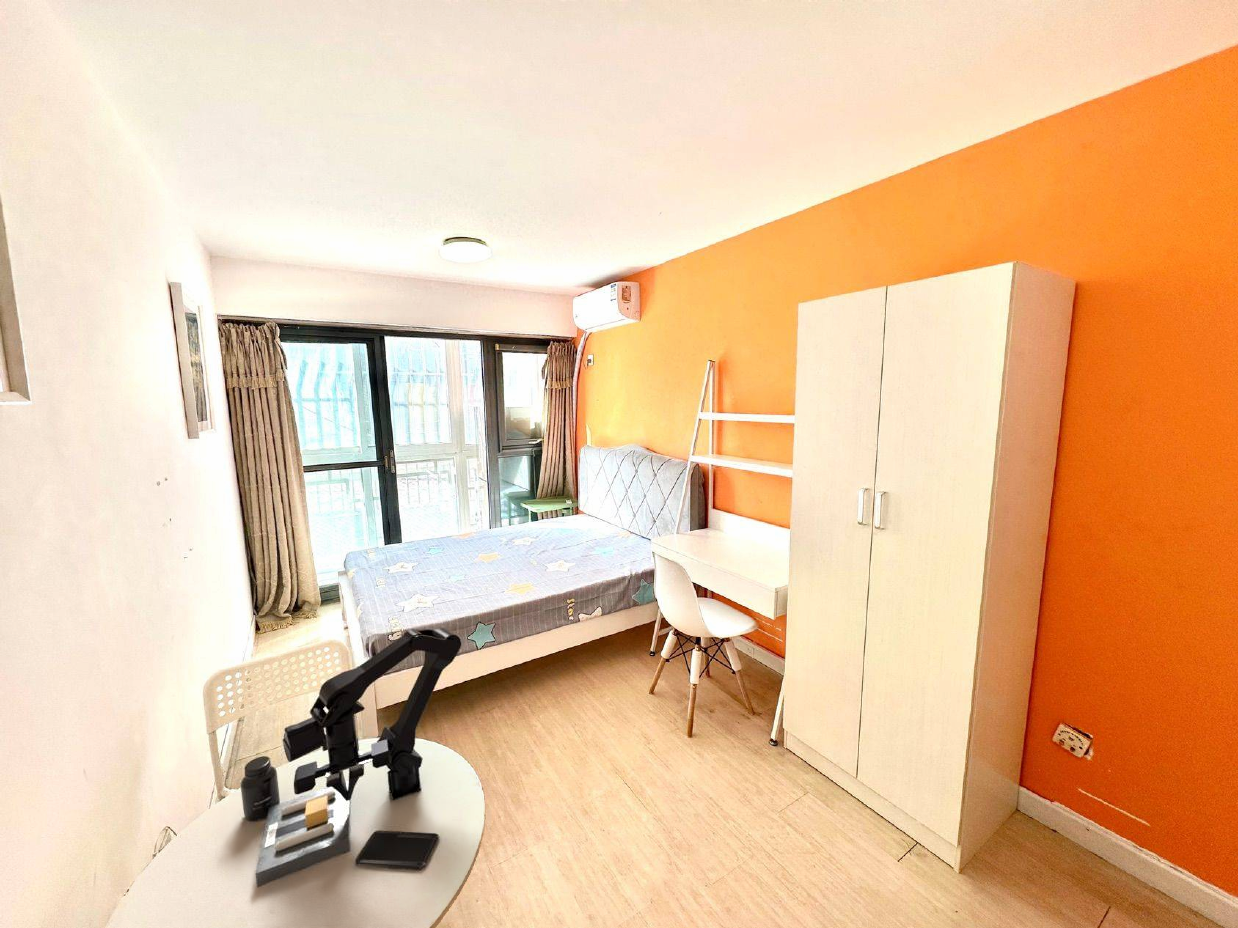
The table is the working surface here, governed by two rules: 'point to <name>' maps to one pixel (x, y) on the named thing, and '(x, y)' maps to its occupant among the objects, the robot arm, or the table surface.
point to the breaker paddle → (317, 811)
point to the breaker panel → (308, 851)
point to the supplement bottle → (259, 788)
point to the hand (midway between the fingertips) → (348, 798)
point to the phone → (397, 850)
